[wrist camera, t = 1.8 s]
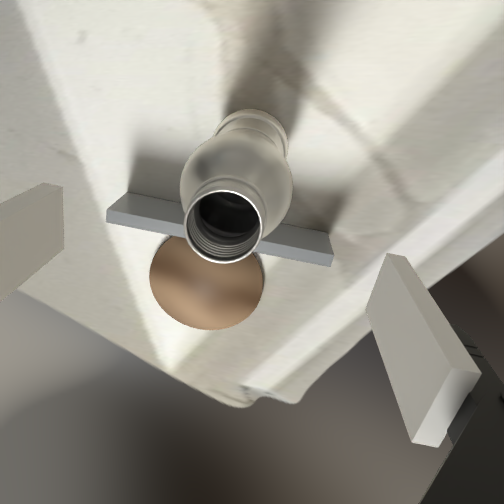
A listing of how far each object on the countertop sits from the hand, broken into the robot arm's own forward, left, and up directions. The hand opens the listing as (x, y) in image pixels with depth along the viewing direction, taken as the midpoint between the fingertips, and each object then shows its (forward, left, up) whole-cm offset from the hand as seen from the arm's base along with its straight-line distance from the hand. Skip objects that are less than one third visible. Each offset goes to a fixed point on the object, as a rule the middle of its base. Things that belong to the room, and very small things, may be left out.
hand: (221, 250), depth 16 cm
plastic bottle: (0, 0, -22) cm, 22 cm away
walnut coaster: (+15, -2, -22) cm, 26 cm away
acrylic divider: (+7, -1, -22) cm, 23 cm away
